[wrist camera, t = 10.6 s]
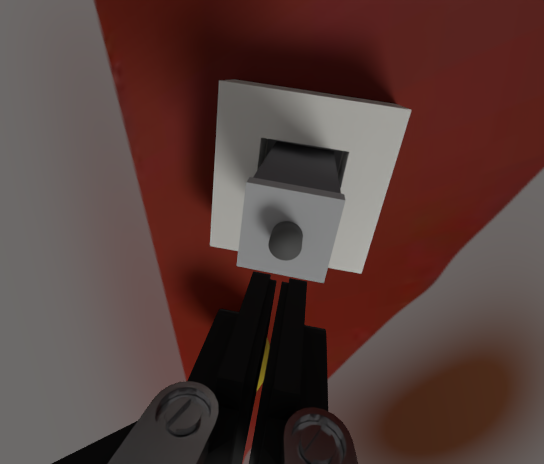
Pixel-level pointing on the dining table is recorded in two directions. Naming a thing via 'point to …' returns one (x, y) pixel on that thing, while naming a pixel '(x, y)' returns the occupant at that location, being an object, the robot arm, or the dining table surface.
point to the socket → (312, 133)
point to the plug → (291, 213)
